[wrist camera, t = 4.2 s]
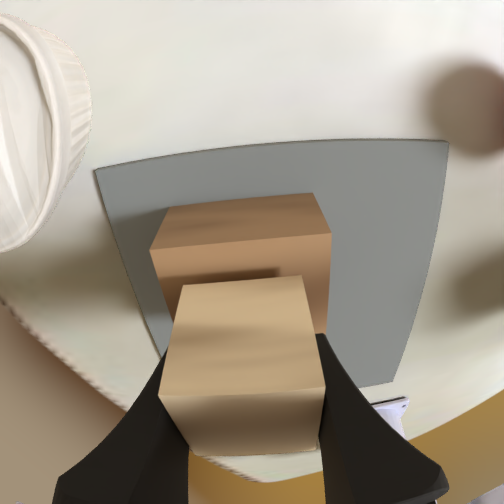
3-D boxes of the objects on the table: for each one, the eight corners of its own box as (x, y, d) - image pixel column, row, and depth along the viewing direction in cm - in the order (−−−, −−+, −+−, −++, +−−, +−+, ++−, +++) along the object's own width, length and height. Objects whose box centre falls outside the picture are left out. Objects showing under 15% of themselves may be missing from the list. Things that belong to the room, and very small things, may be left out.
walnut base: (312, 302, 19) (324, 353, 16) (196, 312, 19) (188, 363, 16) (312, 192, 15) (331, 233, 12) (169, 206, 16) (149, 249, 12)
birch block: (301, 352, 14) (315, 449, 10) (205, 359, 15) (195, 455, 10) (301, 275, 12) (325, 386, 8) (183, 285, 12) (158, 395, 8)
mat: (391, 378, 25) (392, 381, 24) (183, 398, 25) (183, 402, 25) (445, 140, 14) (449, 142, 14) (98, 168, 15) (95, 171, 14)
